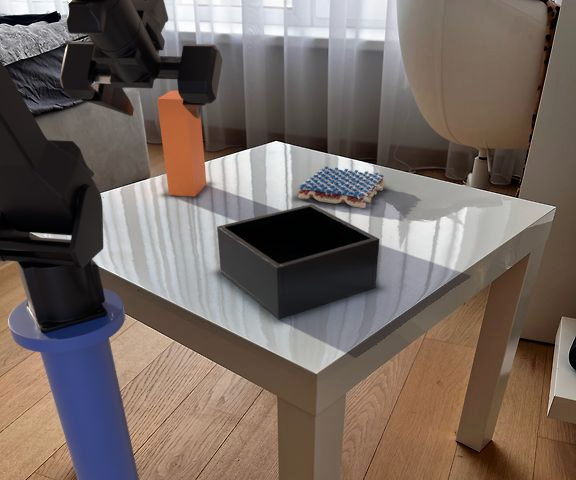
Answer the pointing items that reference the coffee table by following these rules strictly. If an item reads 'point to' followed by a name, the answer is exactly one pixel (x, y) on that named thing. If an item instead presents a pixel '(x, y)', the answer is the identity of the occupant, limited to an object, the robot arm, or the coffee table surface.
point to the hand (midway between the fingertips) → (165, 113)
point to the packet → (181, 146)
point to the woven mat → (342, 186)
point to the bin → (297, 259)
